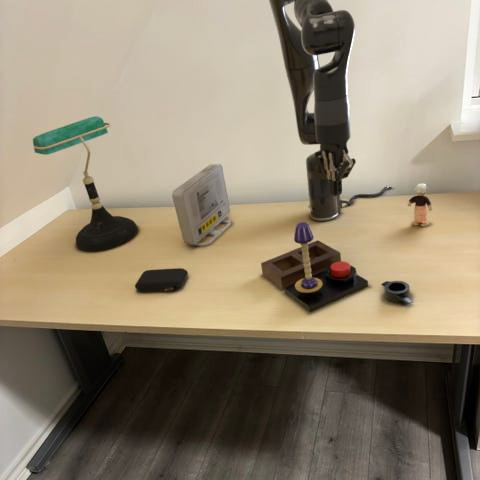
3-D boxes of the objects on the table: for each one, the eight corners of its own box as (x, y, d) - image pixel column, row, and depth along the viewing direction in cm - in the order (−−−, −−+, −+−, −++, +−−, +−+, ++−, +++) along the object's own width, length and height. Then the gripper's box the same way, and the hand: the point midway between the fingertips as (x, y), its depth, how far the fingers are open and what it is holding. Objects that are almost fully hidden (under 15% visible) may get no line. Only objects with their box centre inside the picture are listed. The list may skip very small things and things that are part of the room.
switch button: (342, 266, 133) (342, 259, 132) (354, 273, 129) (354, 266, 128) (327, 272, 132) (326, 266, 131) (338, 279, 128) (338, 273, 127)
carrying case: (133, 296, 145) (180, 293, 141) (130, 287, 143) (178, 284, 140) (145, 277, 153) (190, 274, 150) (142, 268, 152) (188, 265, 148)
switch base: (339, 269, 138) (339, 258, 136) (368, 286, 129) (367, 274, 127) (284, 293, 133) (283, 281, 131) (310, 312, 124) (308, 300, 122)
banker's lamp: (120, 217, 198) (86, 112, 176) (154, 228, 183) (122, 115, 161) (61, 245, 184) (16, 135, 162) (93, 260, 170) (48, 140, 147)
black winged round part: (412, 286, 126) (413, 276, 124) (414, 308, 118) (414, 298, 116) (380, 286, 128) (380, 276, 126) (380, 308, 120) (380, 298, 119)
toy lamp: (296, 287, 127) (289, 228, 117) (303, 278, 130) (296, 219, 121) (314, 290, 125) (308, 229, 115) (320, 280, 128) (315, 220, 118)
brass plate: (312, 275, 131) (312, 274, 131) (328, 285, 126) (328, 284, 126) (289, 284, 129) (289, 284, 129) (304, 295, 124) (304, 294, 124)
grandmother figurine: (434, 222, 152) (436, 182, 145) (430, 227, 149) (433, 187, 142) (408, 220, 156) (409, 180, 149) (404, 225, 153) (405, 185, 146)
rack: (262, 275, 142) (260, 263, 140) (318, 252, 148) (317, 240, 146) (282, 290, 134) (280, 277, 132) (341, 265, 140) (340, 252, 138)
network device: (217, 216, 183) (206, 162, 172) (238, 217, 179) (228, 162, 168) (180, 249, 165) (165, 191, 154) (202, 251, 161) (188, 192, 150)
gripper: (365, 118, 105) (367, 196, 115) (328, 110, 115) (332, 183, 125) (336, 127, 103) (340, 206, 112) (301, 119, 113) (307, 192, 122)
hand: (336, 194), depth 119 cm, fingers closed
